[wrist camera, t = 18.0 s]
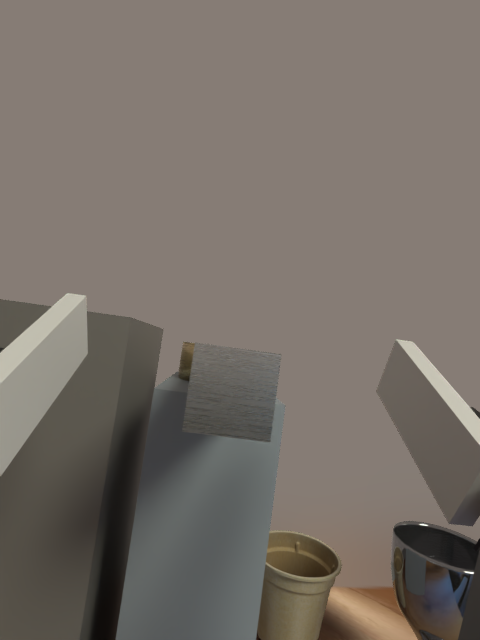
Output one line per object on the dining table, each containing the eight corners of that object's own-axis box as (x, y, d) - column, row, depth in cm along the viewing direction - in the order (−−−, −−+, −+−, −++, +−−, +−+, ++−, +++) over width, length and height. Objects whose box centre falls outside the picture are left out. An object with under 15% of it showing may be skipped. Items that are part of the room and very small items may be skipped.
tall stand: (-134, 859, 20) (-24, 296, 22) (16, 637, 34) (72, 316, 37) (42, 867, 20) (131, 317, 23) (114, 645, 35) (163, 329, 37)
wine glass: (364, 735, 30) (384, 541, 31) (386, 671, 36) (401, 513, 37) (483, 816, 25) (501, 585, 27) (483, 727, 32) (497, 545, 33)
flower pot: (235, 603, 43) (245, 526, 44) (313, 607, 44) (322, 532, 45) (249, 675, 34) (262, 576, 35) (347, 677, 35) (357, 581, 36)
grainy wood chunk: (121, 424, 12) (136, 334, 13) (181, 373, 35) (186, 342, 36) (327, 449, 13) (337, 362, 13) (254, 383, 36) (258, 352, 36)
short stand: (80, 869, 20) (154, 388, 22) (136, 647, 35) (177, 371, 37) (226, 875, 21) (285, 405, 23) (220, 654, 36) (256, 382, 38)
